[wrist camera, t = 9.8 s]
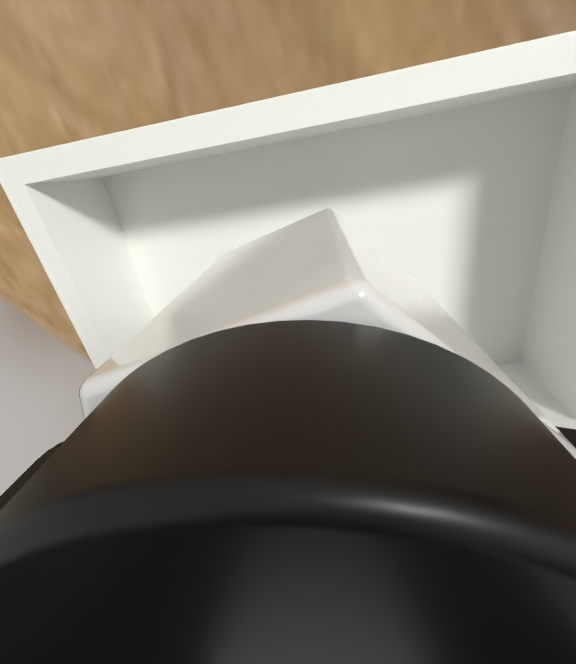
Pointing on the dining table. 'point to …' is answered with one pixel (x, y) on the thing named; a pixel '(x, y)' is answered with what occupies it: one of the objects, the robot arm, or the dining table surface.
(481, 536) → the jar
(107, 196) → the bin
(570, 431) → the robot arm
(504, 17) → the dining table surface
